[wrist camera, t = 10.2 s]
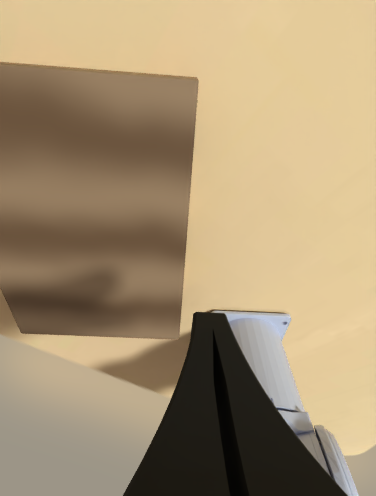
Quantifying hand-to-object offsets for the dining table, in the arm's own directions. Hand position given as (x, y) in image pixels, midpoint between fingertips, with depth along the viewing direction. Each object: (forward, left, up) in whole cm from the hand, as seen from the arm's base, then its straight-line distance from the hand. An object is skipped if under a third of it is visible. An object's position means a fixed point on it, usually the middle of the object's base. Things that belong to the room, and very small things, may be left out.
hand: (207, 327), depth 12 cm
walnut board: (-1, +8, -10) cm, 13 cm away
